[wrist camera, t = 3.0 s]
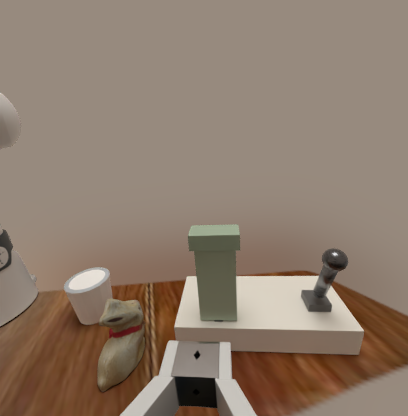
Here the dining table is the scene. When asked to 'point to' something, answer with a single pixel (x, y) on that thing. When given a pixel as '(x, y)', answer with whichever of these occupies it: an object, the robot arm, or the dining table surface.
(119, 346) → the chocolate bunny
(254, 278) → the control bank
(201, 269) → the capped sage pillar
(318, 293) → the graphite lever
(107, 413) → the dining table surface
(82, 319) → the white tapered cup
